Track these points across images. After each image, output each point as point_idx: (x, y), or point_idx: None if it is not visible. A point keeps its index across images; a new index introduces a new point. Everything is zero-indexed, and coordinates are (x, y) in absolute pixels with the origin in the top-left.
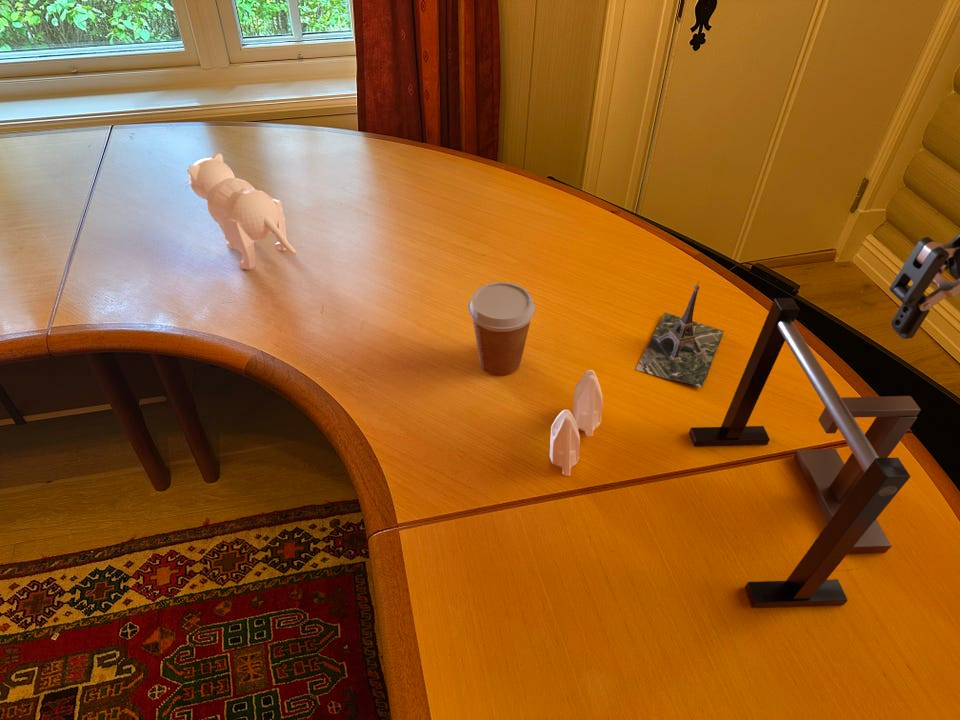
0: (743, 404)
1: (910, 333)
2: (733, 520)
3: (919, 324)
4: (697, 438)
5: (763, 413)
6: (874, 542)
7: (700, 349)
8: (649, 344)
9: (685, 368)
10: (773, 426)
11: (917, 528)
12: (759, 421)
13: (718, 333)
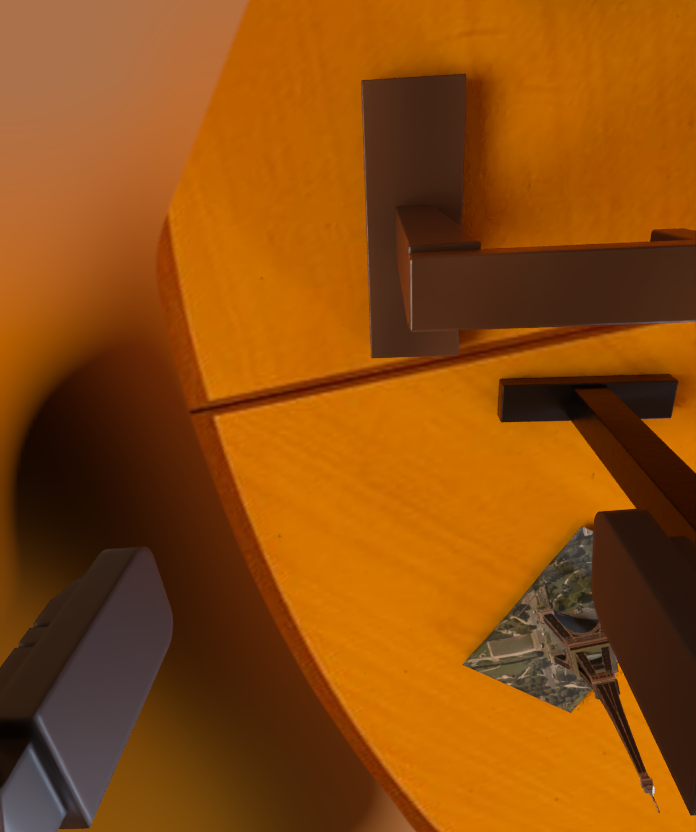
0: (650, 436)
1: (653, 530)
2: (674, 170)
3: (660, 581)
4: (670, 388)
5: (468, 461)
6: (398, 89)
7: (537, 621)
8: None
9: None
10: (462, 427)
11: (261, 157)
12: (487, 440)
13: (478, 659)
